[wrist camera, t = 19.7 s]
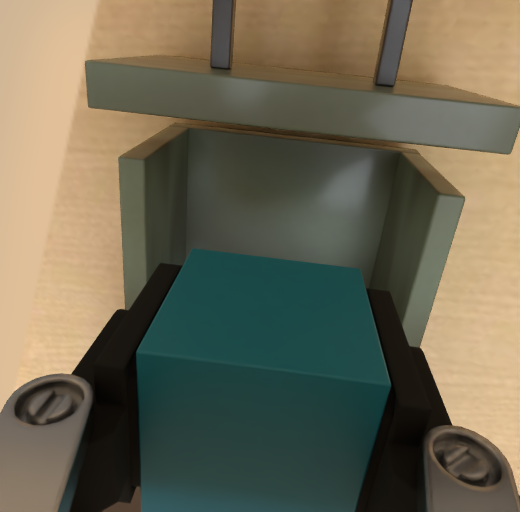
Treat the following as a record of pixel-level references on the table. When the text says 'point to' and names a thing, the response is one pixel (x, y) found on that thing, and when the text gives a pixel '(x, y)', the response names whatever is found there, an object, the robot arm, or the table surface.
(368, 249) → the drawer
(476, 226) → the table surface
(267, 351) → the cube
